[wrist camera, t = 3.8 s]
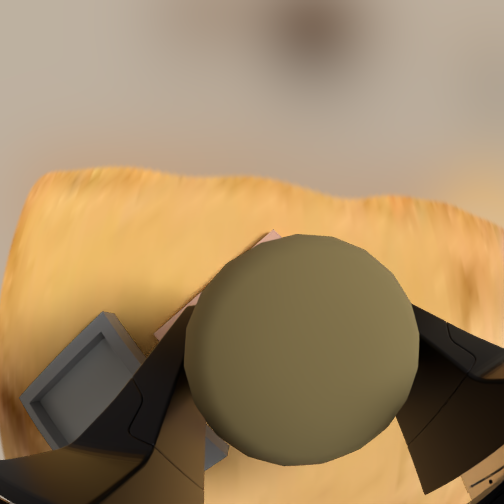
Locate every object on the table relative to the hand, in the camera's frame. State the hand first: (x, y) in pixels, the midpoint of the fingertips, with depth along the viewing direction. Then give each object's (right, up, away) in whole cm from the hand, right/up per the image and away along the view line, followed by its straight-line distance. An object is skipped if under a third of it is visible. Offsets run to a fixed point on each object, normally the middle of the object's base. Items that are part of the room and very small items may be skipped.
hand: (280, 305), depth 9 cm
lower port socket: (-9, -9, +4) cm, 14 cm away
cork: (0, -3, +6) cm, 7 cm away
